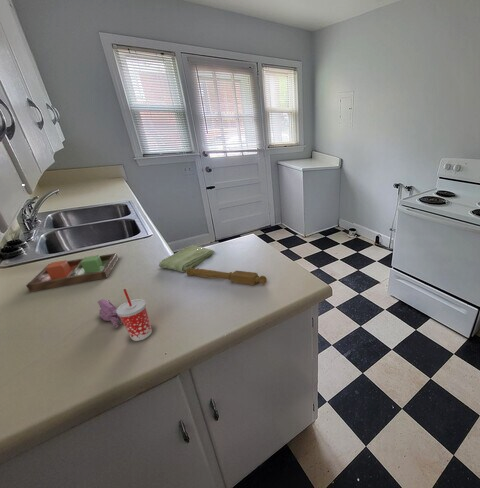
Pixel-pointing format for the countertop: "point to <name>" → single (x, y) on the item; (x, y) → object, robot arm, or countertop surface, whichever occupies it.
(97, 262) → the green block
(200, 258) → the washcloth
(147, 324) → the beverage cup
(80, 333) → the countertop surface
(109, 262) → the tray
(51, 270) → the terracotta block
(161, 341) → the countertop surface
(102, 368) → the countertop surface
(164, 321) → the countertop surface
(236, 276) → the tap handle
